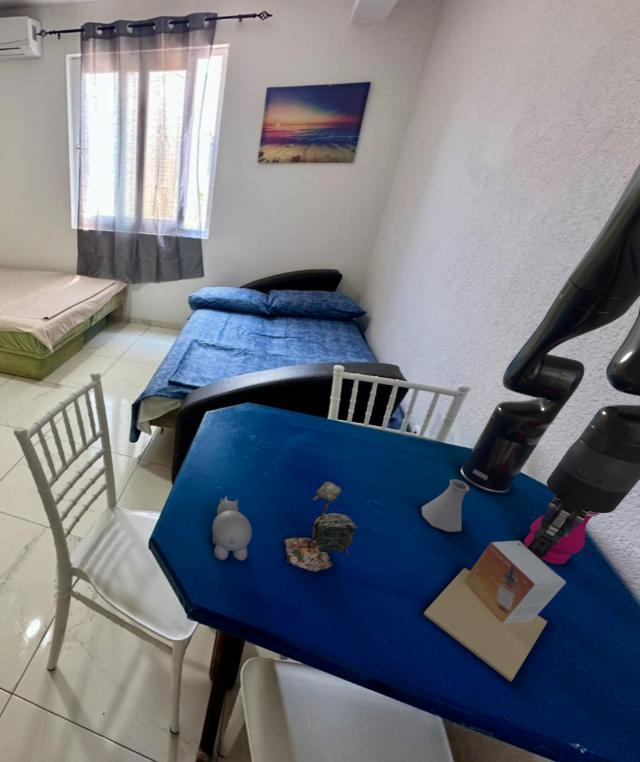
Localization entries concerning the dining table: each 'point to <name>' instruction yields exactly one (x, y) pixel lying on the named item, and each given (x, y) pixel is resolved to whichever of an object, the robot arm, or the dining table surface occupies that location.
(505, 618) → the small box
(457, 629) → the mat
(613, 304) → the robot arm
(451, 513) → the flask
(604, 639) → the dining table surface
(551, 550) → the pepper mill
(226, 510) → the round bodied animal figurine
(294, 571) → the dining table surface
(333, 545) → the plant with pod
